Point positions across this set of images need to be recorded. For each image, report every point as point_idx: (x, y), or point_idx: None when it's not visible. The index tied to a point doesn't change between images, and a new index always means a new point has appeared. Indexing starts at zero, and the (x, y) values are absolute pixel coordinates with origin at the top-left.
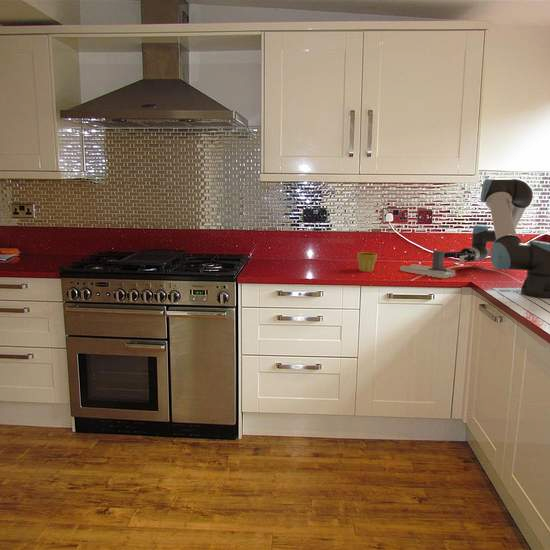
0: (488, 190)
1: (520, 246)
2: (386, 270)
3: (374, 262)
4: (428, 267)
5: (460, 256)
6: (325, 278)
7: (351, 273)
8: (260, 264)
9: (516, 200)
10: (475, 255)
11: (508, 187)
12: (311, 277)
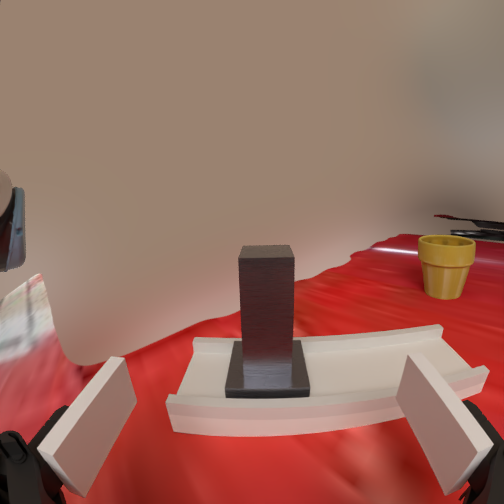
0: None
1: None
2: (439, 317)
3: (430, 269)
4: (374, 393)
5: (118, 358)
6: (372, 254)
7: (407, 273)
8: (485, 244)
9: None
10: None
11: None
12: (385, 250)
